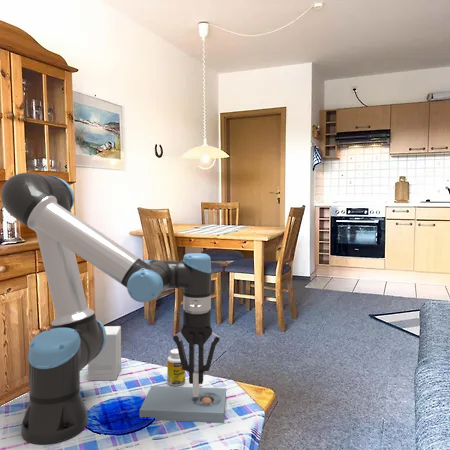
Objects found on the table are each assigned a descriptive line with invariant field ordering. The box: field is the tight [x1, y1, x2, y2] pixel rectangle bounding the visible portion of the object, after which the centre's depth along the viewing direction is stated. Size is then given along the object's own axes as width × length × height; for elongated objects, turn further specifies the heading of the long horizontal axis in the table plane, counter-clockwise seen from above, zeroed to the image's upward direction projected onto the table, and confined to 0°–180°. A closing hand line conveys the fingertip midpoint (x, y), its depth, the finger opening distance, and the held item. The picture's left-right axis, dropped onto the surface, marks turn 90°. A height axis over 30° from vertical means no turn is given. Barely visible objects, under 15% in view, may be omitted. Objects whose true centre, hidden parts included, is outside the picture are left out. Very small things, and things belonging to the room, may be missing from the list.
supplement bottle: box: [166, 348, 186, 387], centre depth 127 cm, size 6×6×10 cm
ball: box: [201, 397, 212, 403], centre depth 112 cm, size 3×3×3 cm
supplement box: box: [87, 325, 122, 381], centre depth 132 cm, size 9×9×15 cm
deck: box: [138, 385, 227, 424], centre depth 112 cm, size 22×14×2 cm, turn 87°
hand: (196, 394), depth 112 cm, fingers closed
